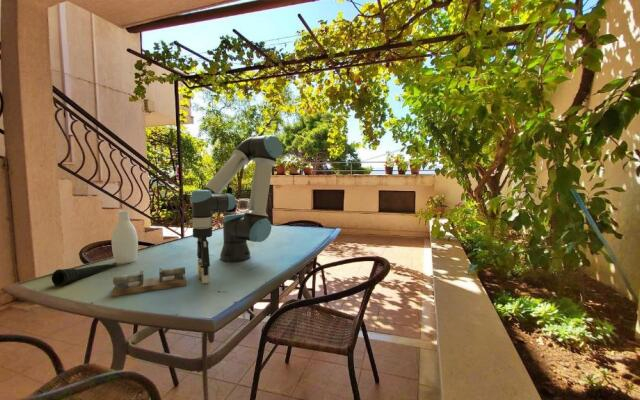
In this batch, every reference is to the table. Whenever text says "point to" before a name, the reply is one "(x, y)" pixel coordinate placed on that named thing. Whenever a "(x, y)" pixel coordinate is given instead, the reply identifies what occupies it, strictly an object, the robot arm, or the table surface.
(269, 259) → the table surface
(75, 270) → the tool
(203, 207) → the robot arm
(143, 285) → the double roll holder
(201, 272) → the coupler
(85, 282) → the table surface
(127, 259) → the bottle
